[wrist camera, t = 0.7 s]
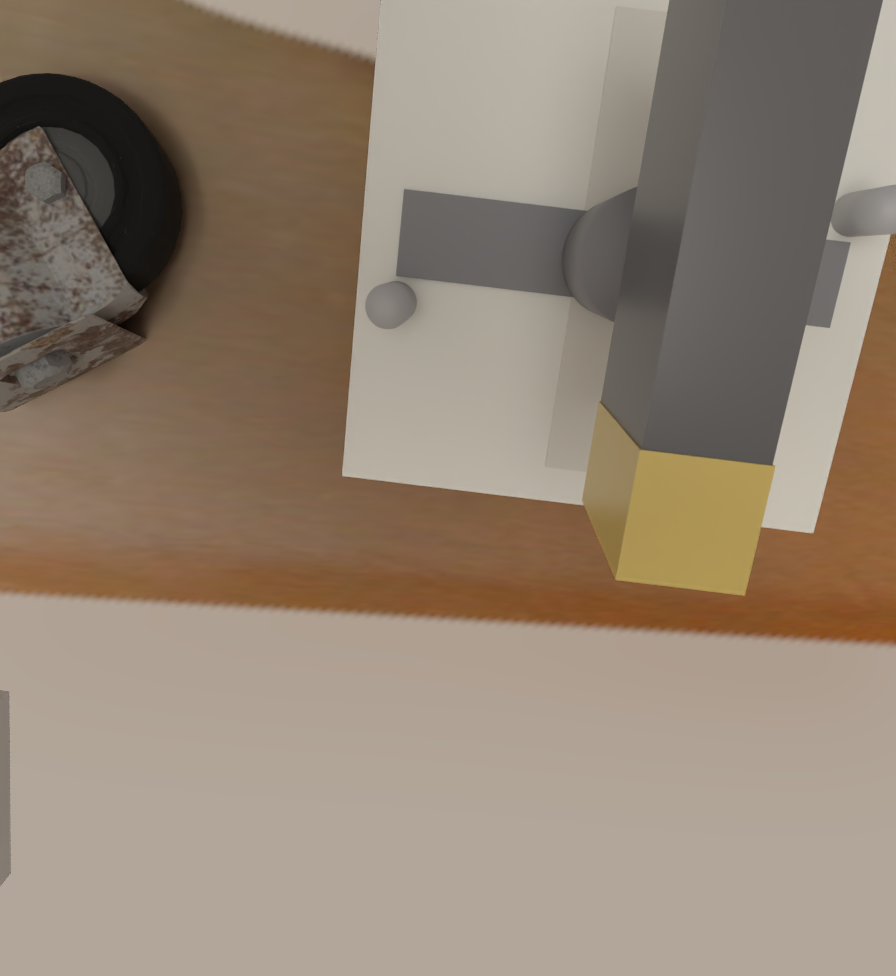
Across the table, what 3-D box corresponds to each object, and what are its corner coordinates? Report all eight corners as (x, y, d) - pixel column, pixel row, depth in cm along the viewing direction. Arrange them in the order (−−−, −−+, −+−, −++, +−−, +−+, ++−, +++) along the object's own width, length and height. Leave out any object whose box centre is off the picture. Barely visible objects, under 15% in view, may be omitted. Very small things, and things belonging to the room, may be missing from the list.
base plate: (390, -52, 29) (358, -164, 22) (928, 11, 29) (1088, -78, 22) (347, 467, 35) (310, 525, 27) (799, 522, 35) (889, 596, 27)
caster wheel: (135, 89, 33) (249, 303, 34) (-110, 210, 33) (12, 424, 34) (73, 0, 27) (217, 267, 28) (-235, 149, 26) (-80, 417, 27)
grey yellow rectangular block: (652, -7, 22) (756, -169, 14) (756, 5, 22) (922, -150, 14) (572, 477, 26) (615, 579, 18) (660, 488, 26) (745, 595, 18)
